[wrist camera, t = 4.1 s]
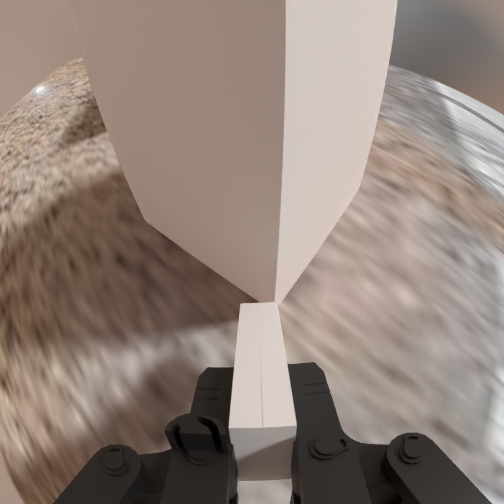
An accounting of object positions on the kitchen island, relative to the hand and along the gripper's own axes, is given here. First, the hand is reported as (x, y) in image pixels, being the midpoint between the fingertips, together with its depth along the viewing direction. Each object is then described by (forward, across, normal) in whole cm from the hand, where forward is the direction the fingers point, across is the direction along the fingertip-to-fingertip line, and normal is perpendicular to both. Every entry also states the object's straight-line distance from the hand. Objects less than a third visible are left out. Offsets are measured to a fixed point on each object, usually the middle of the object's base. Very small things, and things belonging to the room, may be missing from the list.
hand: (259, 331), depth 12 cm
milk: (+10, 0, -4) cm, 11 cm away
